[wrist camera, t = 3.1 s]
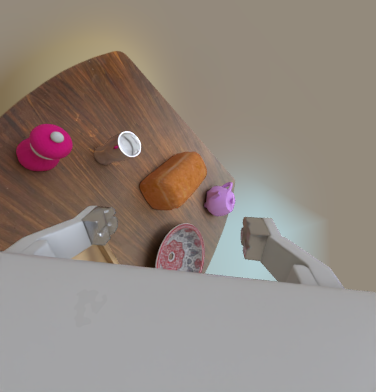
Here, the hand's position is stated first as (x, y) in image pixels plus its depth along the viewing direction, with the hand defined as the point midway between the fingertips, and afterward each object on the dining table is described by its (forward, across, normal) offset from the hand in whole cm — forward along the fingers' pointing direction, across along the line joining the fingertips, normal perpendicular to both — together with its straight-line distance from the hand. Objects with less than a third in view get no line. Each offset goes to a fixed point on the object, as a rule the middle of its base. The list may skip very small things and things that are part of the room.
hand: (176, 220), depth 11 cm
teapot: (+78, +3, -42) cm, 89 cm away
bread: (+56, -16, -23) cm, 63 cm away
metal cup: (+40, -31, -8) cm, 52 cm away
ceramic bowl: (+42, -12, -52) cm, 68 cm away
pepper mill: (+27, -40, -5) cm, 48 cm away
